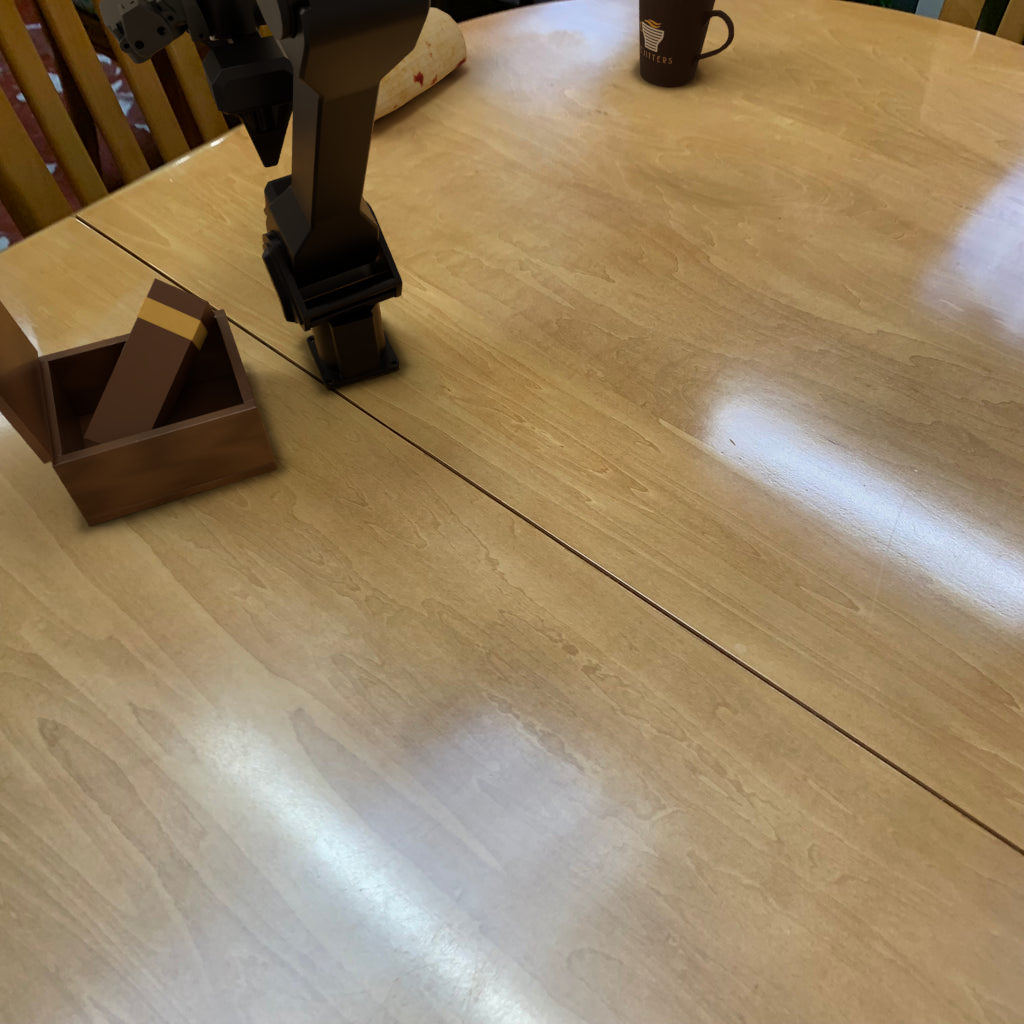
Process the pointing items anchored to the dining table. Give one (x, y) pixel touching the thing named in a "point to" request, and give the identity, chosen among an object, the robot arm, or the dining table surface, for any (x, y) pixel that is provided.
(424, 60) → the food model
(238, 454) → the chest
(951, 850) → the dining table surface
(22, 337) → the chest lid
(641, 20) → the coffee mug
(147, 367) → the chocolate box
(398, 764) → the dining table surface
